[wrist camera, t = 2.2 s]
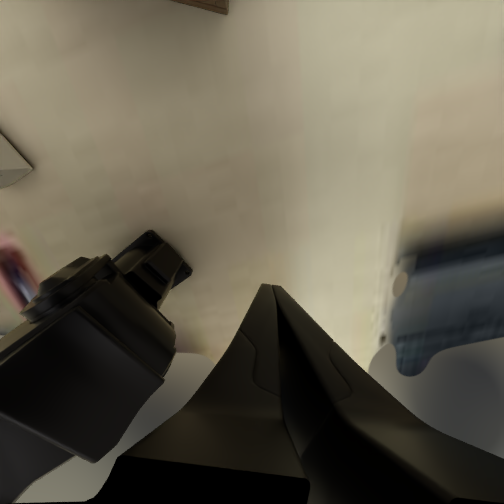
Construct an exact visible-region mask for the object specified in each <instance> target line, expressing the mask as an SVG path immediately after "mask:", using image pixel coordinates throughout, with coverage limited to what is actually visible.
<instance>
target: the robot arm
mask: <svg viewBox="0 0 504 504" xmlns="http://www.w3.org/2000/svg"><path fill="white" fill-rule="evenodd" d="M148 234H151V236H152V237H150V236H149V235H148ZM186 271H189V273H187V272H186ZM192 272H193V271H192V269H191V268H190V267H189V266H188V265H187V264H186V263H185V262H184V261H183V259H182V258H181V257H180V256H179V255H178V254H177V253H176V252H175V251H174V250H173V249H172V248H171V247H170V246H169V245H168V244H167V243H165V242H164V241H163V240H162V239H161V238H160V237H159V236H158V235H157V234H156V233H155V232H153V231H152V230H148V231H146V232H145V233H144V234H143V235H141V236H140V237H139V238H138V239H137V240H135V241H134V242H133V243H132V244H131V245H129V246H128V247H127V248H126V249H125V250H123V251H122V252H121V253H120V254H119V255H117V256H116V257H115V258H114V259H113V260H111V258H110V257H109V256H108V255H107V254H105V255H103V256H101V257H98V256H97V257H95V258H93V259H89V258H84V257H80V258H78V259H76V260H75V261H73V262H71V263H70V264H68V265H67V266H65V267H63V268H62V269H60V270H59V271H57V272H56V273H54V274H53V275H51V276H50V277H48V278H47V279H46V280H44V281H43V282H41V283H40V284H39V290H38V294H37V295H36V296H35V297H34V298H33V299H32V300H31V302H30V303H29V304H28V305H27V306H26V307H25V308H24V309H23V310H22V311H21V312H20V313H19V314H20V315H22V316H23V317H25V318H26V319H27V320H26V321H25V322H23V323H22V324H21V325H19V326H18V327H16V328H15V329H14V330H12V331H11V332H9V333H8V334H7V335H5V336H4V337H2V338H1V339H0V504H504V459H503V458H500V457H498V456H496V455H493V454H491V453H489V452H486V451H484V450H481V449H479V448H477V447H474V446H472V445H470V444H467V443H465V442H463V441H460V440H458V439H456V438H453V437H451V436H448V435H446V434H444V433H442V432H440V431H438V430H436V429H434V428H432V427H431V426H429V425H427V424H426V423H424V422H423V421H421V420H420V419H419V418H417V417H416V416H415V415H414V414H413V413H411V412H410V411H409V410H408V409H407V408H406V407H404V406H403V405H402V404H401V403H400V402H399V401H398V400H397V399H396V398H394V397H393V396H392V395H391V394H390V393H389V392H388V391H386V390H385V389H384V388H383V387H382V386H381V385H380V384H379V383H378V382H377V381H375V380H374V379H373V378H372V377H371V376H370V375H369V374H368V373H367V372H365V371H364V370H363V369H362V368H361V367H360V366H359V365H358V364H357V363H356V362H355V361H354V360H353V359H352V358H351V357H350V356H349V355H348V354H347V353H346V352H345V351H344V350H343V349H342V348H341V347H340V346H339V345H338V344H337V343H336V342H333V339H332V338H331V337H330V336H329V335H328V334H327V333H326V332H325V331H324V330H323V329H322V328H321V327H320V326H319V325H318V324H317V323H316V322H315V321H314V320H313V319H312V318H311V317H310V316H309V315H308V313H307V312H306V311H305V310H304V309H303V308H302V307H301V306H300V305H299V304H298V303H297V302H296V301H295V300H294V299H293V298H292V297H291V296H290V295H289V294H288V293H287V292H286V291H285V290H284V289H283V288H282V287H281V286H278V285H272V286H271V285H270V284H264V283H263V284H261V286H260V288H259V290H258V292H257V294H256V296H255V298H254V300H253V302H252V304H251V306H250V308H249V310H248V312H247V314H246V315H245V317H244V319H243V321H242V323H241V325H240V327H239V329H238V331H237V333H236V335H235V337H234V338H233V340H232V342H231V344H230V345H229V347H228V349H227V350H226V352H225V353H224V355H223V356H222V358H221V359H220V360H219V362H218V363H217V364H216V366H215V367H214V369H213V370H212V371H211V373H210V374H209V375H208V377H207V378H206V379H205V381H204V382H203V383H202V385H201V386H200V387H199V389H198V390H197V391H196V393H195V394H194V395H193V396H192V398H191V399H190V400H189V401H188V402H187V404H186V405H185V406H184V407H183V408H182V409H181V410H179V411H178V412H177V413H176V414H174V415H173V416H172V417H171V418H169V419H168V420H166V421H165V422H164V423H163V424H161V425H160V426H159V427H157V428H156V429H155V430H153V431H152V432H151V433H149V434H148V435H147V436H145V437H144V438H143V439H141V440H140V441H139V442H137V443H136V444H135V445H133V446H132V447H131V448H130V449H128V450H127V451H125V452H124V453H123V454H121V455H120V456H119V457H117V459H116V461H115V464H114V466H113V468H112V470H111V473H110V475H109V477H108V479H107V480H106V482H105V483H104V485H103V487H102V488H101V490H100V491H99V492H98V494H97V495H96V496H95V497H94V498H92V499H89V500H87V501H85V502H45V503H15V502H16V501H17V500H18V499H19V498H20V496H21V495H22V494H23V493H24V492H25V491H26V490H27V489H28V488H29V487H30V486H31V485H32V484H33V483H34V482H35V481H37V480H39V479H41V478H42V477H44V476H45V475H47V474H49V473H50V472H52V471H53V470H55V469H57V468H58V467H60V466H61V465H63V464H64V463H66V462H68V461H70V460H71V459H72V458H74V457H76V456H78V457H80V458H82V459H84V460H86V461H88V462H90V463H96V462H98V461H99V460H100V459H101V458H102V457H103V456H105V455H106V454H107V453H108V452H109V451H110V450H112V448H114V447H115V446H116V445H117V443H118V442H119V441H120V439H121V437H122V436H123V434H124V433H125V431H126V429H127V428H128V426H129V425H130V423H131V422H132V420H133V418H134V417H135V415H136V414H137V412H138V411H139V410H140V408H141V407H142V406H143V404H144V403H145V402H146V401H147V400H148V398H149V397H150V396H151V395H152V394H153V393H154V392H155V391H156V390H157V389H158V388H159V387H160V386H161V385H162V384H163V383H164V381H165V379H164V378H163V377H164V376H165V374H166V373H167V371H168V369H169V367H170V365H171V363H172V360H173V358H174V356H175V353H176V348H175V347H174V345H175V339H176V334H175V331H174V324H173V323H172V322H171V321H170V322H169V321H168V320H167V319H166V318H165V317H164V316H163V315H162V313H161V312H160V311H159V308H160V306H161V305H162V303H163V301H164V299H165V298H166V296H167V294H168V292H169V291H170V290H171V289H172V288H173V287H175V286H176V285H178V284H179V283H181V282H182V281H184V280H185V279H186V278H188V277H189V276H191V274H192Z"/></svg>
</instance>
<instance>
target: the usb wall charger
mask: <svg viewBox="0 0 504 504" xmlns="http://www.w3.org/2000/svg"><path fill="white" fill-rule="evenodd" d="M32 170H33V168H32V167H31V166H30V165H29V164H28V163H27V162H26V161H25V160H24V158H23V157H22V156H21V155H20V154H19V153H18V152H17V151H16V150H15V149H14V148H13V146H12V145H11V144H10V143H9V142H8V141H7V140H6V139H5V138H4V137H3V136H2V134H1V133H0V189H2V188H5V187H8V186H10V185H12V184H13V183H15V182H16V181H18V180H19V179H20V178H22V177H23V176H25V175H26V174H27V173H29V172H30V171H32Z"/></svg>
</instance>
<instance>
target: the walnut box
mask: <svg viewBox="0 0 504 504" xmlns="http://www.w3.org/2000/svg"><path fill="white" fill-rule="evenodd" d="M172 1H176V2H180V3H183V4H187V5H191V6H195V7H199V8H203V9H207V10H211V11H214V12H218V13H222V14H226V15H227V14H228V7H229V0H172Z"/></svg>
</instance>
